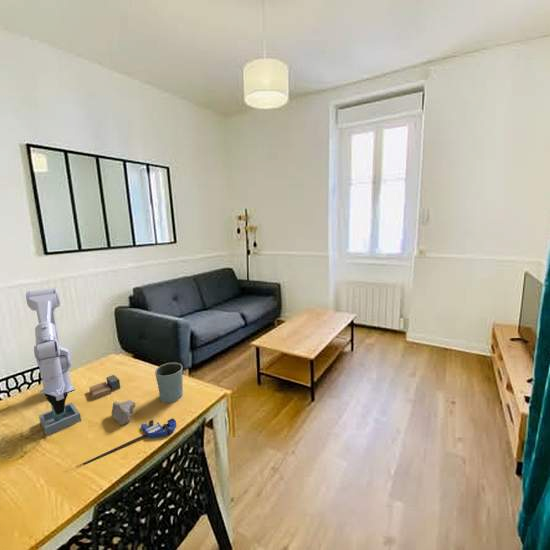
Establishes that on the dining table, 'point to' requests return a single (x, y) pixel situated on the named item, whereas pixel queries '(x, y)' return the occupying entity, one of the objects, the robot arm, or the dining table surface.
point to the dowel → (59, 416)
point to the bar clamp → (150, 432)
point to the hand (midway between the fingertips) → (58, 410)
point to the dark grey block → (113, 382)
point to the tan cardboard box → (100, 390)
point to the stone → (123, 411)
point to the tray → (56, 425)
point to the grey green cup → (169, 382)
